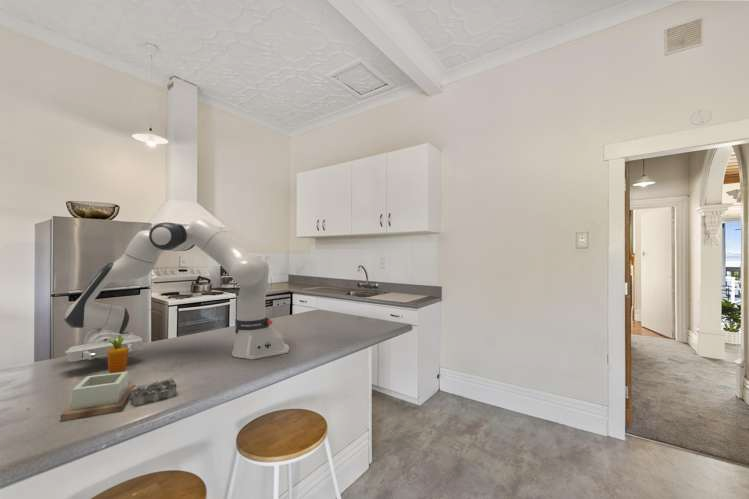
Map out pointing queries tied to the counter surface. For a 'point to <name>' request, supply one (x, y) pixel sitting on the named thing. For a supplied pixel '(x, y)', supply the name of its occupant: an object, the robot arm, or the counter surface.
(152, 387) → the egg carton
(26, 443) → the counter surface
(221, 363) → the counter surface
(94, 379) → the square open planter
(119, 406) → the walnut board
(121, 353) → the carrot
